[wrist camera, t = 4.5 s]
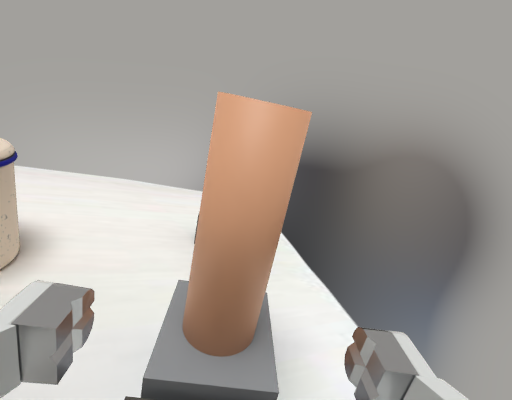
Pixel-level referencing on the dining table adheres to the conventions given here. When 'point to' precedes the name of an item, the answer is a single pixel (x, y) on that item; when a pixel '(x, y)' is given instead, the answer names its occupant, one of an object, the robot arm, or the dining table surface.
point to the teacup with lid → (8, 205)
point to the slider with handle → (231, 260)
